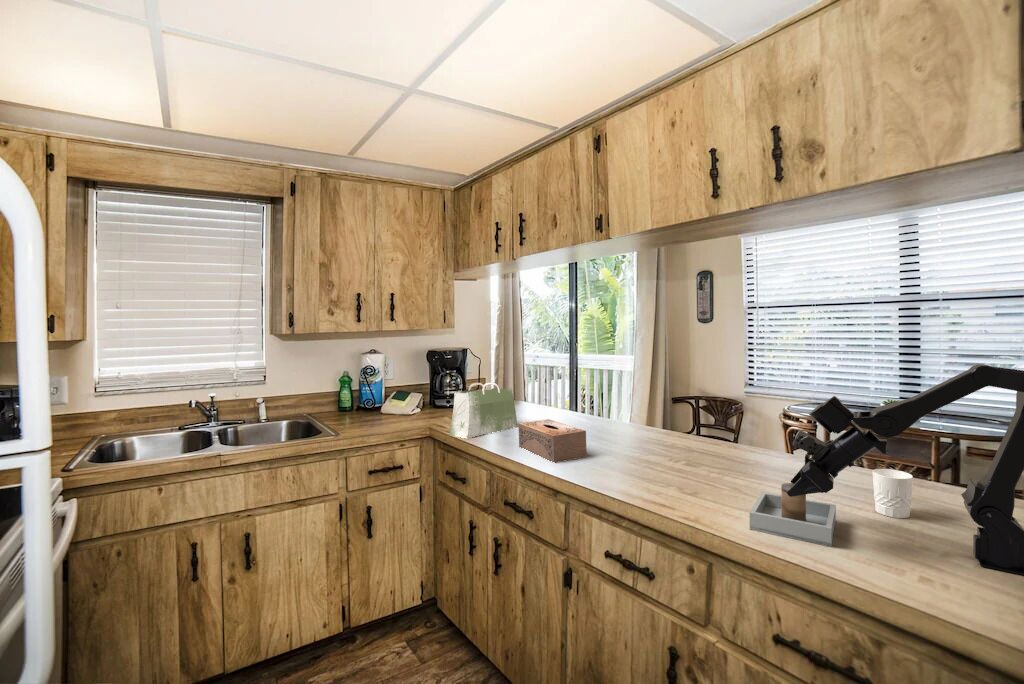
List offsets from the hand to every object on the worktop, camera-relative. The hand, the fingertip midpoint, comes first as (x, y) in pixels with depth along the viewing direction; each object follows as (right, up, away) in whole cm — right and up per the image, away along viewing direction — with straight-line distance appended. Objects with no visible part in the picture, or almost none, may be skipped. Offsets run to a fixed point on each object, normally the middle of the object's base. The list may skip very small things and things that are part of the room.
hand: (790, 488), depth 113 cm
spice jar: (+1, -8, 0) cm, 8 cm away
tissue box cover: (-51, -8, +71) cm, 88 cm away
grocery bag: (-79, -7, +110) cm, 136 cm away
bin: (+1, -9, 0) cm, 9 cm away
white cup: (+29, -8, +5) cm, 30 cm away
